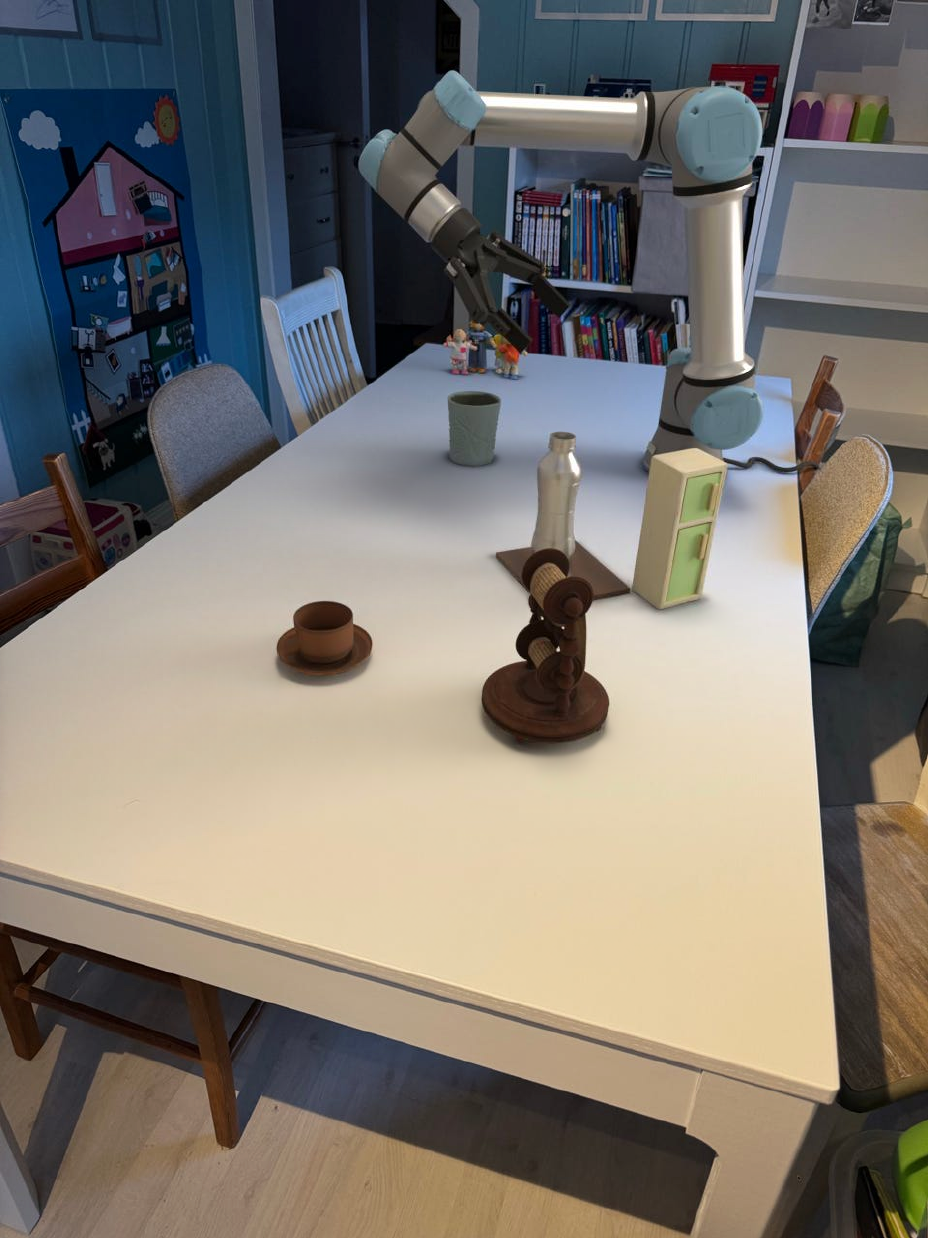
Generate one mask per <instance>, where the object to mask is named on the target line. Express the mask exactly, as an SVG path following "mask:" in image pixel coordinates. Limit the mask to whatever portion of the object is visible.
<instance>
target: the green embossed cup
mask: <svg viewBox="0 0 928 1238" xmlns="http://www.w3.org/2000/svg"><path fill="white" fill-rule="evenodd" d="M501 405H502V399H501V398H500V396H498V395H497V394H494V393H490V392H487V391H478V390H463V391H456V392H452V393H450V394H449V395H448V396H447V411H448V426H449V428H448V432H449V433H448V435H449V440H448V441H449V459H450V460H451V461H452V462H453V463H455V464H457V465H460V466H467V467H480V466H485V465H488V464H490V463H492V461H493V459H494V454H495V445H496V436H497V435H496V434H497V430H498V423H499V416H500V411H501Z"/></svg>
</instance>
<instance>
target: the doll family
mask: <svg viewBox="0 0 928 1238" xmlns="http://www.w3.org/2000/svg"><path fill="white" fill-rule="evenodd" d="M469 324H470V326H469V327H470V328H473V329H472V330H470V331H467V332H465V331H464V330H463V329H462V328H457V329H456V330H455V331H454V332H453V337H452V335H451V334H449V336H447V337H446V341H445V342H444V343H443V348H447V349H451V350H450V355H449V358H450V361H449V364H451V365H452V367H453V369H452V370H451V374H452V375H466V376H467V375H469V372H472V373H476V372H477V373H478V374H483V373H485V372H486V368H488V366H487V365H488V362H487V359H488V358H487V346H490V345H491V346H492V348H493V349H495V351H494V356H495V360H494V366H495V367H497V368H496V370H495V371H494V373H496V374H503V375H502V378H503V379H510V380H518V378H519V377H518V375H519V367H520V365H519V363H520V355H521V356H522V355H523V356H524V357H527V356H528V352H527V351H526V349H525V350H524V351H523V352H522V353H521V354H520V353H519V352H518V351H517V350H516V349H515V348H514V347H513V346H512V345H511V344H510V342H509V341H508V340H507V339H506V338H505V337H503V336H502V335H500V334H499V333H498V334H495V335H494V337H493V335H492V334H491V333H490V332H488V331H487V330H485V326H482V325H480V323H479V324H476V323H474V322H473V320H471V321H469ZM467 351H468V354H467ZM467 355H468V356H467ZM458 365H459V366H461V365H462V367H461V368H462V370H461V371H460V370H459V369H458ZM467 366H468V367H469V371H468V370H467ZM478 368H479V369H478ZM502 368H503V369H502Z"/></svg>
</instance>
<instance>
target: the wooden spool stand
mask: <svg viewBox="0 0 928 1238" xmlns="http://www.w3.org/2000/svg"><path fill="white" fill-rule="evenodd" d="M569 568H570V565H569V560H568V558H567V556H566V555H565V554H564V553H563V552H562V551H560V550H558V549H554V548H546V549H542V550H539V551H537V552H535V553H534V554H533V555H531V556H530V557H529V558H528V559H527V561H526V562H525V564H524V566H523V569H522V573H521V577H522V582H523V584H524V586H525V587H526V588H527V589H528V590H529V591H531V594H530V593H529V595H528V598H527V602H528V603H527V605H528V607H529V609H530V613H532V614H531V615H530V616H531V617H530V618H529V620H528V624H526V625H525V626H523V628H522V629H521V630H520V631H519V633H518V635H517V636H516V639H515V650H516V653H517V654H518V656H519V657H520V658H521V659H523V660H521V661H517V662H513V663H509V664H506V665H504V666H501V667H500V668H498V669H497V670H494V671H493V672H492V673H491V674H490V675H489V676H488V677H487V678H486V679H485V681H484V683H483V686H482V690H481V706H482V709H483V712H484V714H485V716H487V717H486V718H488V719H489V720H490V721H491V722H492V724H494V725H495V726H496V727H497V728H499V729H500V730H502V731H503V732H505V733H507V734H510V735H511V736H514V739H515V742H516V744H517V745H519V746H520V745H522V744H523V743H524V741H525V740H526V741H529V742H536V743H544V744H545V743H546V744H560V743H569V742H575V741H578V740H581V739H583V738H586V737H589V736H591V735H592V734H594V733H595V732H596V733H597V732H600V730H601V729H602V727H603V725H604V723H605V722H606V720H607V717H608V714H609V709H610V708H609V707H610V698H609V693H608V692H607V690H606V688H605V687H604V685H603V684H602V683H601V682H600V681H599V680H598V679H597V678H596V677H594V676H593V675H592V674H591V673H589V672H587V671H585V670H586V657H587V615H586V614H587V613H588V611H589V610H590V609H591V607H592V605H593V601H594V600H593V597H594V593H593V589H592V586H591V585H590V583H589V582H588V581H587V580H585V579H583V578H581V577H576V576H572V577H567V576H568V574H569ZM524 586H523V587H524ZM525 587H524V588H525ZM526 588H525V589H526ZM558 649H559V650H558Z"/></svg>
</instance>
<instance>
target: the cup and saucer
mask: <svg viewBox="0 0 928 1238" xmlns="http://www.w3.org/2000/svg"><path fill="white" fill-rule="evenodd" d="M292 621H293V622H292V623H293V627H291V628H290V629H288V630H286V631H285V632H284V633H283V634H282V635H280V637H279V638H278V641H277V643H276V649H275V650H276V653H277V656H278V658H279V660H280V661H281V662H282V663H283V664H284V665H285V666H286V667H288V668H290V669H291V670H293V671H295V672H298V673H302V674H304V675H311V676H333V675H338V674H342V673H345V672H349V671H351V670H353V669H355V668H357V667H358V666H359V665H361V664H363V663H364V662H365V661H366V660H367V659H368V658H369V657H370V654H371V652H372V650H373V643H374V642H373V639H372V636H371V634H370V633H369V632H368V631H367V630H366V629H365V628H363V627H362V626H360V625H357V624H356V623H354V612H353V610H352V609H351V608H350V607H349V606H348V605H346V604H344V603H342V602H338V601H332V600H317V601H313V602H308V603H306V604H303V605H301V606H300V607H298V608H297V609H296V610H295V611H294V612H293V615H292Z"/></svg>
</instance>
